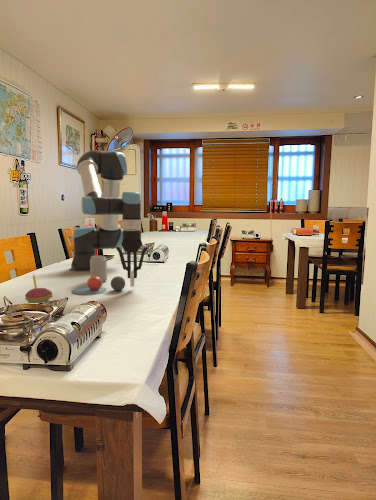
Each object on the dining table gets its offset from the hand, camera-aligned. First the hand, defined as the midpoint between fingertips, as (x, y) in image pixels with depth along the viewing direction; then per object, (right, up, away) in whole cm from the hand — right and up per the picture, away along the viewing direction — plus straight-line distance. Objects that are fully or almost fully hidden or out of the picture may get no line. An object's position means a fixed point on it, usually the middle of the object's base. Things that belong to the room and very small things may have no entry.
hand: (132, 285), depth 140 cm
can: (-18, 0, +16) cm, 24 cm away
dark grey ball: (-6, +1, -1) cm, 6 cm away
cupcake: (-28, -5, -25) cm, 38 cm away
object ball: (-16, +1, -1) cm, 16 cm away
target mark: (-18, -2, -1) cm, 18 cm away
